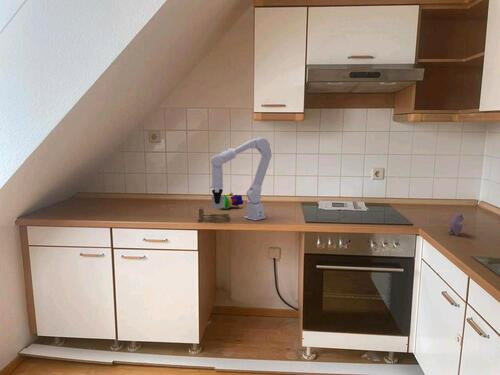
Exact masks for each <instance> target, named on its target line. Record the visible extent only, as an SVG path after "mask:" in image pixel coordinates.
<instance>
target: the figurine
mask: <svg viewBox="0 0 500 375" xmlns="http://www.w3.org/2000/svg"><path fill="white" fill-rule="evenodd" d="M464 219H465V216H464V215H463V213H460V212H456V213H455V214H454V215H453V216H452V217H451V218H450V219H449V222H448V223H449V224H448V225H449V228H450V229H448V230H447V233H448V234H454V235H455V236H457V237H459V234H460V232H461V231H462V230H463V227H466V226H467V225H466V223H465V222H463V221H464Z"/></svg>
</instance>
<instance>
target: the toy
mask: <svg viewBox="0 0 500 375" xmlns="http://www.w3.org/2000/svg"><path fill="white" fill-rule="evenodd" d="M223 196H225V208H223V209H224V210H228V208H230V207H231V206H235V207H237V206H238V209H242V208H243V206H242V205H244V200H243V197H242V195H241V194H239V195H238V194H233V192H229V193H228V194H227V195H225V194H224V195H223Z"/></svg>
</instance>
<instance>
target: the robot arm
mask: <svg viewBox="0 0 500 375" xmlns="http://www.w3.org/2000/svg"><path fill="white" fill-rule="evenodd" d="M249 149H256V150H258V152H259V154H260V155H261V157H260V160H259V163H258V166H257V169H256V172H255V176H254V178H253V182H252V183H251V185H250V187H249V189H247V191H246V198H247V201H246V215H245V216H243V218H244V219H248V220H252V221H259V220H263V219H266V216H265V205H264V204H263V203H261V198H262V195H261V194H262V186H263V182H264V180H265V178H266V177H265V176H266V173H267V170H268V168H269V165H270V163H271V162H270V161H271V159H272V155H273V154H272V149H271V144H270V142H269V140H268V139H267V138H265V137H261V136H258V137H257V136H256V137H255V138H252V139H250V140H248V141H246V142H244V143H242V144H241V145H238V146H237V147H235V148H232V147H231V148H225V150H224V151H222V152H218V153H217V155H213V156H212V157H211V160H210V162H211V185H210V186H209V188H210V189H212V190H211V193H212V196H214V199H215V203H216V204H219V203H220V198H221V196H222V194H223V188H224V184H223V183H224V180H223V178H224V173H223V172H224V170H223V165H224V164H226V163H228V162H230V161H232V160H234V159H236V156H237V155H239V154H241V153H242V152H243V153H244V152H245V151H247V150H249Z"/></svg>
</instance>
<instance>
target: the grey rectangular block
mask: <svg viewBox="0 0 500 375" xmlns="http://www.w3.org/2000/svg"><path fill="white" fill-rule="evenodd" d="M224 208H225V196H224V195H221V198H220V203H219V204H216V203H215V199H214V195H212V196H211V209H224Z"/></svg>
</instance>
